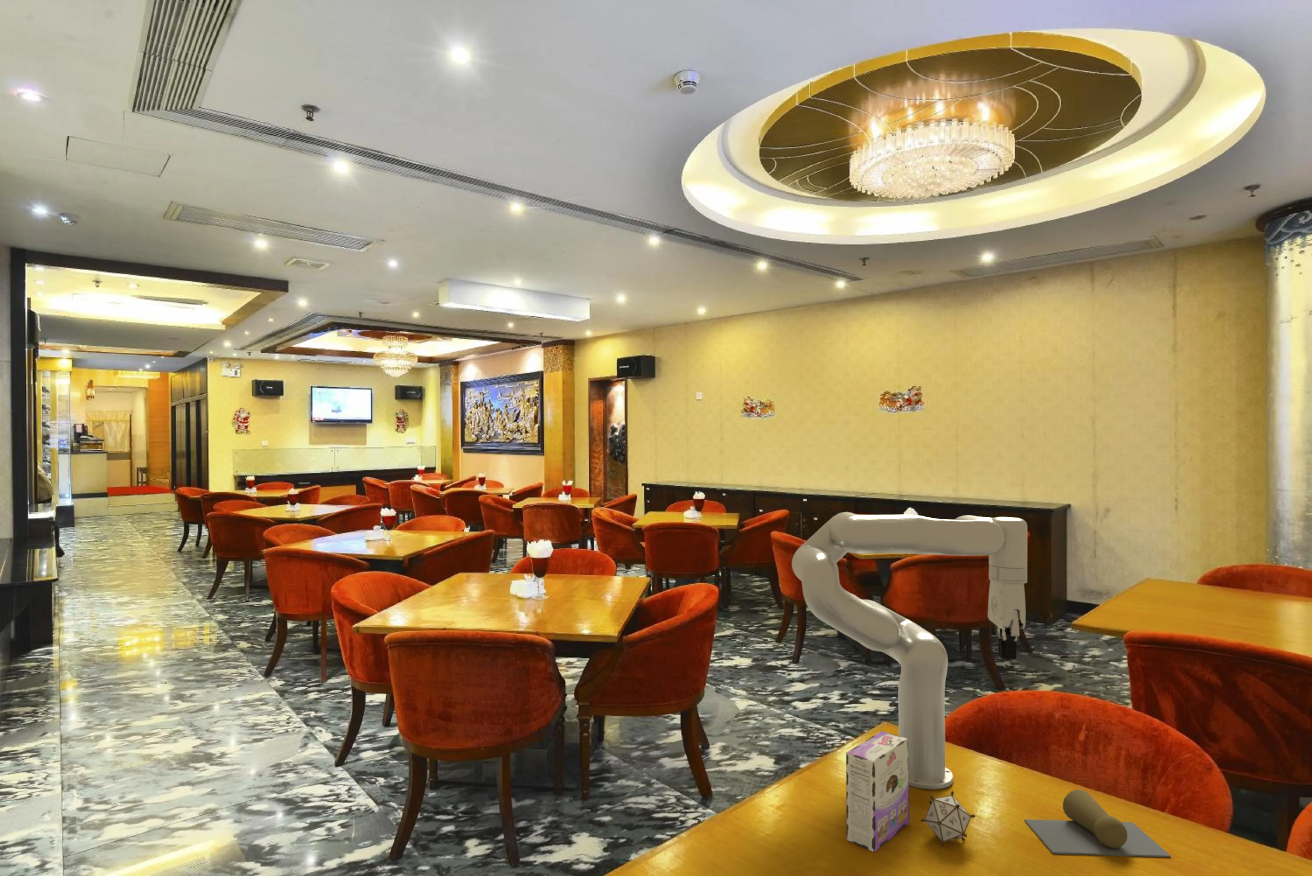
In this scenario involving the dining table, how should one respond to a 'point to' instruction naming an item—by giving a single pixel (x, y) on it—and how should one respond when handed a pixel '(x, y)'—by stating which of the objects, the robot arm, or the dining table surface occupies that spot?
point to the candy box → (877, 790)
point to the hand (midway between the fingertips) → (1007, 657)
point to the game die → (947, 818)
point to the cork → (1094, 818)
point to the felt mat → (1092, 840)
